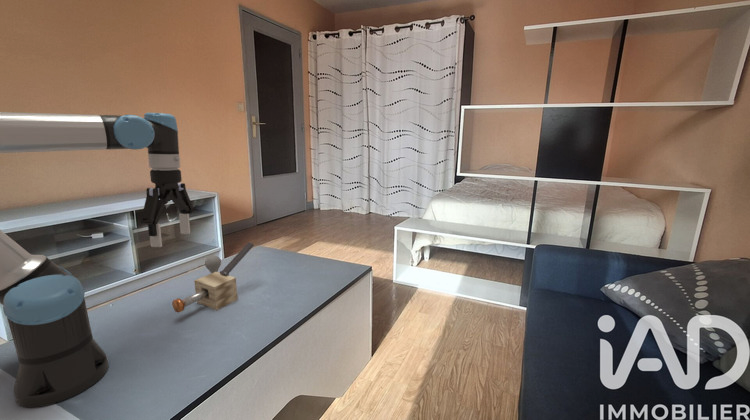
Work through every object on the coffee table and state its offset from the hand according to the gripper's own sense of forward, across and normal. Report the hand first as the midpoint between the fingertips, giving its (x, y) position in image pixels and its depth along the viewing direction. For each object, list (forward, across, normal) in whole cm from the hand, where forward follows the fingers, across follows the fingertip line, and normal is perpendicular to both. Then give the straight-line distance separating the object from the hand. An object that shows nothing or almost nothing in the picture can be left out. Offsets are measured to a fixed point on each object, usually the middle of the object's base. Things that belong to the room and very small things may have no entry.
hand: (172, 239), depth 96 cm
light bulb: (+23, +23, 0) cm, 33 cm away
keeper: (+11, +15, -13) cm, 23 cm away
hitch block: (+23, +7, -9) cm, 26 cm away
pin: (+21, +1, -6) cm, 22 cm away
